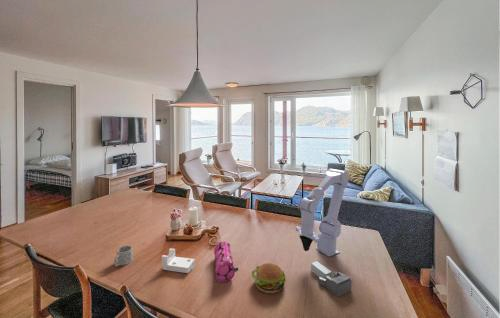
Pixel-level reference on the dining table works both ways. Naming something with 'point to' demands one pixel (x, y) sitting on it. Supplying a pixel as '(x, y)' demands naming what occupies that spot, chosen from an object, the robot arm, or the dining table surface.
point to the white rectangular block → (320, 270)
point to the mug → (124, 256)
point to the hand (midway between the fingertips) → (306, 250)
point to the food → (269, 278)
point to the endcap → (337, 283)
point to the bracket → (177, 263)
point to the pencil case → (224, 262)
